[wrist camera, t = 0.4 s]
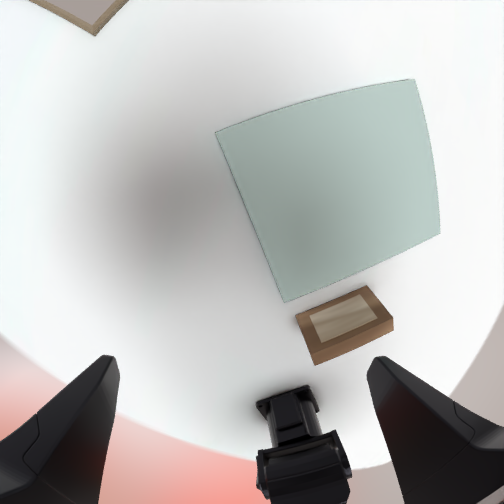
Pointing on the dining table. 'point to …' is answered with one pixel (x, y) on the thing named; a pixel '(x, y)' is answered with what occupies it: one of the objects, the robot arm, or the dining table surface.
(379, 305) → the brown wooden block
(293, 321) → the dining table surface
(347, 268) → the mat
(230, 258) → the dining table surface
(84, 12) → the picture frame
